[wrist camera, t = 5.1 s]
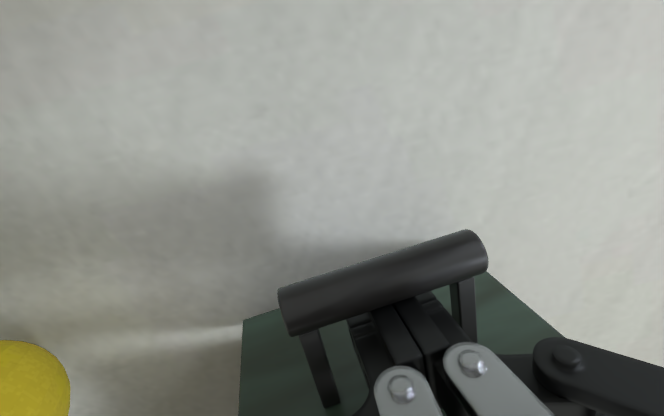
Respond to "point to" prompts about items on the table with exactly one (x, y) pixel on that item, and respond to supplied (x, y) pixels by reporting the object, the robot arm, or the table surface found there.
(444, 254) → the drawer
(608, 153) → the table surface
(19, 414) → the lemon
